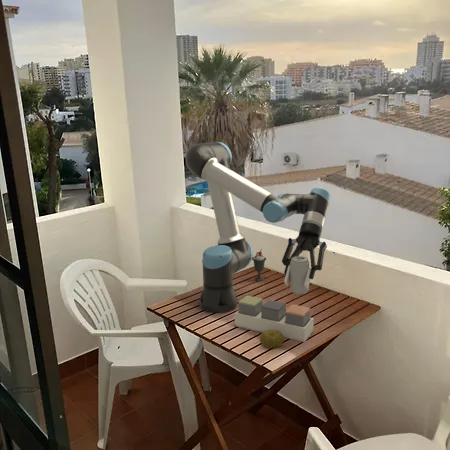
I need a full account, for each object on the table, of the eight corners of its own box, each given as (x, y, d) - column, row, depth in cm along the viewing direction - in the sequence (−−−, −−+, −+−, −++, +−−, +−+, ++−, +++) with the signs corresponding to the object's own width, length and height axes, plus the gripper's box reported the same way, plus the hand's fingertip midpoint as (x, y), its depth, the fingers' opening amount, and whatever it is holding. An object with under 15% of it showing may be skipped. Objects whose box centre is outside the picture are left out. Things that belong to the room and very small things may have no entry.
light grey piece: (234, 326, 168) (234, 313, 167) (246, 316, 176) (245, 304, 175) (304, 342, 156) (304, 328, 155) (313, 331, 163) (313, 318, 162)
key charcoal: (261, 322, 164) (261, 306, 162) (268, 315, 169) (269, 299, 168) (278, 326, 161) (278, 309, 159) (285, 318, 166) (285, 303, 165)
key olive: (238, 317, 168) (238, 301, 167) (246, 310, 174) (246, 295, 172) (254, 320, 165) (254, 305, 164) (262, 313, 171) (262, 298, 169)
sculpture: (272, 341, 149) (254, 332, 155) (272, 352, 150) (254, 343, 156) (289, 333, 154) (271, 325, 160) (288, 344, 155) (271, 336, 161)
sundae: (262, 282, 210) (262, 250, 207) (249, 280, 214) (249, 248, 210) (269, 278, 216) (269, 247, 212) (256, 275, 219) (256, 245, 215)
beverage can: (310, 289, 162) (311, 256, 159) (306, 296, 156) (306, 262, 153) (292, 287, 164) (293, 254, 161) (287, 293, 158) (288, 260, 155)
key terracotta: (285, 327, 160) (285, 311, 158) (292, 320, 165) (292, 304, 164) (303, 331, 156) (303, 315, 155) (309, 323, 162) (310, 307, 160)
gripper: (340, 235, 164) (326, 294, 154) (288, 229, 173) (272, 285, 163) (336, 223, 159) (321, 284, 149) (283, 219, 167) (266, 276, 157)
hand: (295, 285), depth 156 cm, fingers closed on beverage can, 6 cm apart
